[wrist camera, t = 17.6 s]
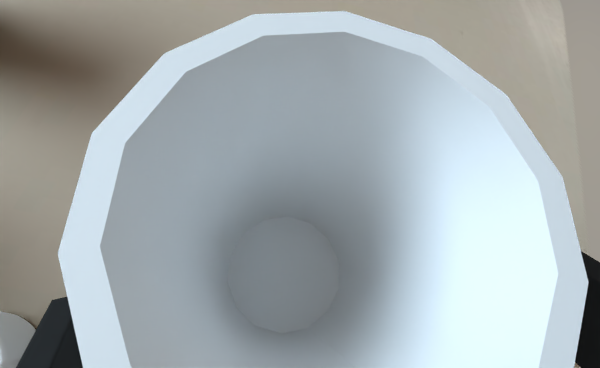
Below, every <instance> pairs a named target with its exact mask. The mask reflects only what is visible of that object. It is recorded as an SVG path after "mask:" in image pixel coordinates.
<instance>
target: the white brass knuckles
mask: <svg viewBox="0 0 600 368" xmlns="http://www.w3.org/2000/svg"><path fill="white" fill-rule="evenodd" d="M35 331H36V329H35V328H34V327H33V326H32V325H31V324H30V323H29V322H28V321H26V320H25V319H23V318H21V317H19V316H17V315H14V314H11V313H6V312H0V368H16V366H17V364H18V363H19V361H20V359H21V357H22V355H23V353H24V351H25V350H26V348H27V346H28V344H29V342H30V340H31V338H32V337H33V335H34V333H35Z"/></svg>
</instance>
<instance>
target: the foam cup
mask: <svg viewBox="0 0 600 368" xmlns="http://www.w3.org/2000/svg"><path fill="white" fill-rule="evenodd" d="M58 257H59V261H60V266H61V270H62V275H63V279H64V284H65V288H66V293H67V297H68V302H69V307H70V311H71V316H72V320H73V325H74V329H75V334H76V338H77V343H78V347H79V352H80V357H81V361H82V366H83V368H574V365H575V359H576V353H577V347H578V341H579V335H580V330H581V324H582V318H583V312H584V306H585V300H586V295H587V289H588V283H589V282H588V278H587V274H586V270H585V266H584V262H583V258H582V254H581V250H580V246H579V242H578V238H577V233H576V229H575V225H574V221H573V217H572V213H571V209H570V205H569V201H568V197H567V193H566V189H565V185H564V181H563V177H562V175H561V174H560V173H559V171H558V170H557V168H556V167H555V165H554V164H553V162H552V161H551V159H550V158H549V156H548V155H547V154H546V152H545V151H544V149H543V148H542V146H541V145H540V143H539V142H538V140H537V139H536V137H535V136H534V135H533V133H532V132H531V130H530V129H529V127H528V126H527V124H526V123H525V121H524V120H523V118H522V117H521V116H520V114H519V113H518V111H517V110H516V108H515V107H514V105H513V104H512V102H511V101H510V99H509V98H508V96H507V95H506V94H505V93H503V92H502V91H501V90H499V89H498V88H497V87H495V86H494V85H493V84H491V83H490V82H488V81H487V80H486V79H484V78H483V77H482V76H480V75H479V74H478V73H476V72H475V71H474V70H472V69H471V68H470V67H468V66H467V65H466V64H464V63H463V62H462V61H460V60H459V59H458V58H456V57H455V56H454V55H452V54H451V53H449V52H448V51H447V50H445V49H444V48H443V47H441V46H440V45H439V44H437V43H436V42H435V41H433V40H432V39H430V38H427V37H424V36H421V35H417V34H414V33H411V32H408V31H405V30H402V29H399V28H396V27H393V26H389V25H386V24H383V23H380V22H377V21H374V20H371V19H368V18H364V17H361V16H358V15H355V14H352V13H349V12H346V11H336V12H307V13H279V14H253V15H251V16H248V17H246V18H244V19H242V20H239V21H237V22H235V23H232V24H230V25H228V26H226V27H223V28H221V29H219V30H216V31H214V32H212V33H210V34H207V35H205V36H203V37H200V38H198V39H196V40H194V41H191V42H189V43H187V44H185V45H182V46H180V47H178V48H175V49H173V50H171V51H169V52H166V53H164V54H163V55H162V57H161V58H160V59H159V60H158V61H157V62H156V63H155V64H154V65H153V66H152V68H151V69H150V70H149V71H148V72H147V73H146V74H145V75H144V76H143V77H142V79H141V80H140V81H139V82H138V83H137V84H136V85H135V86H134V87H133V88H132V90H131V91H130V92H129V93H128V94H127V95H126V96H125V97H124V98H123V99H122V101H121V102H120V103H119V104H118V105H117V106H116V107H115V108H114V109H113V110H112V112H111V113H110V114H109V115H108V116H107V117H106V118H105V119H104V120H103V121H102V123H101V124H100V125H99V126H98V127H97V128H96V129H95V130H94V131H93V132H92V135H91V138H90V142H89V145H88V149H87V152H86V156H85V159H84V163H83V166H82V170H81V173H80V177H79V180H78V184H77V187H76V191H75V194H74V198H73V201H72V205H71V208H70V212H69V215H68V219H67V222H66V226H65V229H64V233H63V236H62V240H61V243H60V247H59V251H58Z"/></svg>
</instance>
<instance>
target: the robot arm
mask: <svg viewBox="0 0 600 368" xmlns="http://www.w3.org/2000/svg"><path fill="white" fill-rule="evenodd" d="M581 254H582V258H583V262H584V266H585V270H586V274H587V278H588V282H589V283H588V289H587V295H586V300H585V306H584V312H583V318H582V324H581V330H580V335H579V341H578V347H577V353H576V359H575V362H576V363H577V364H578V365H579V366H580V367H581V368H600V262H598V261H596V260H595V259H593V258H591V257H590V256H588V255H586V254H585V253H583V252H581ZM16 368H83V366H82V361H81V357H80V352H79V347H78V343H77V338H76V334H75V329H74V325H73V320H72V316H71V311H70V307H69V302H68V297H64V298H60V299H55V300H52V301H51V303H50V305H49V307H48V309H47V311H46V312H45V314H44V316H43V318H42V320H41V322H40V324H39V325H38V327H37V329H36V331H35V333H34V335H33V337H32V338H31V340H30V342H29V344H28V346H27V348H26V350H25V351H24V353H23V355H22V357H21V359H20V361H19V363H18V364H17V366H16Z"/></svg>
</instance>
